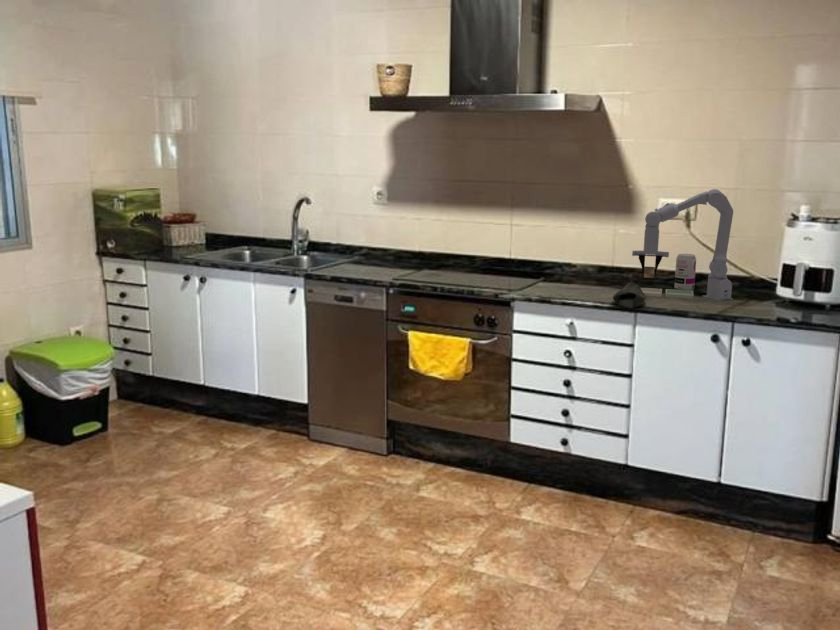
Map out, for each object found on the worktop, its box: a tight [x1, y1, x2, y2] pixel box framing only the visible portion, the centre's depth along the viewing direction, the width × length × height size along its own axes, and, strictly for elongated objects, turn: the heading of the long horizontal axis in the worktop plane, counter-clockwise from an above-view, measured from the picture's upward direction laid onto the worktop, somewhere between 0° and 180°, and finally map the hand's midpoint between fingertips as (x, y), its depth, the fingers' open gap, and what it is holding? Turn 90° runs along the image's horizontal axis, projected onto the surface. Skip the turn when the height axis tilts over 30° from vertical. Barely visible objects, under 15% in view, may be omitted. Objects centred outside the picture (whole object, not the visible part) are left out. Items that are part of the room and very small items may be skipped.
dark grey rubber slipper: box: [612, 281, 647, 309], centre depth 330 cm, size 13×7×25 cm
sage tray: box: [665, 288, 695, 300], centre depth 341 cm, size 11×11×2 cm
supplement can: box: [674, 253, 697, 291], centre depth 354 cm, size 8×8×15 cm
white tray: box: [640, 287, 663, 298], centre depth 344 cm, size 11×11×2 cm
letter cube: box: [643, 266, 655, 279], centre depth 342 cm, size 4×4×4 cm
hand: (649, 273), depth 343 cm, fingers closed on letter cube, 4 cm apart
